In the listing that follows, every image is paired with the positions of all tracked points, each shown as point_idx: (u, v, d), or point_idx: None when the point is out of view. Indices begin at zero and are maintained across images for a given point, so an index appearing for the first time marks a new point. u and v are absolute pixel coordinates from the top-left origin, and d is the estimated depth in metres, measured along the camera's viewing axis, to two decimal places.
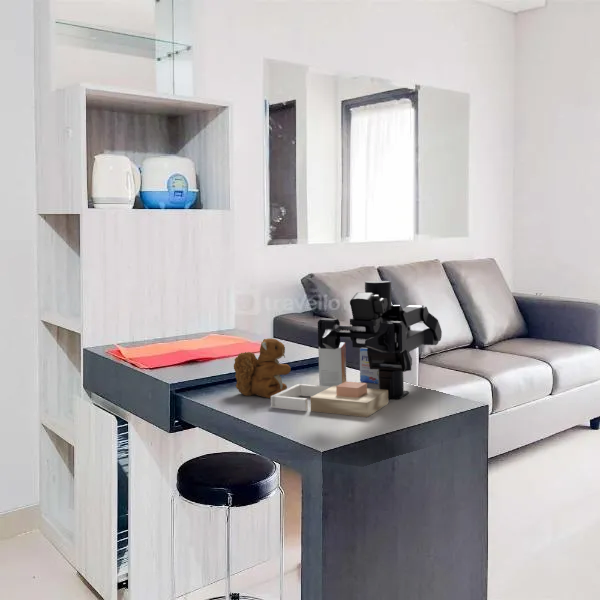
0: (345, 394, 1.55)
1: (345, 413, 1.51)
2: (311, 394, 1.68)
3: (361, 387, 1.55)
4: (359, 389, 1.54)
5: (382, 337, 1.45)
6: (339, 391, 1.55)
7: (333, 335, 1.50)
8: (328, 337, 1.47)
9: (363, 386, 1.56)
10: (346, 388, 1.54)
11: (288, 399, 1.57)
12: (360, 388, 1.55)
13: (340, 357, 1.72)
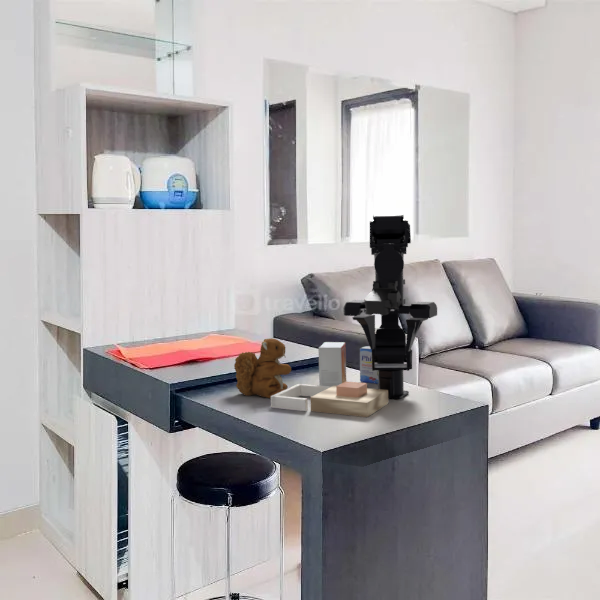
0: (345, 394, 1.55)
1: (345, 413, 1.51)
2: (311, 394, 1.68)
3: (361, 387, 1.55)
4: (359, 389, 1.54)
5: None
6: (339, 391, 1.55)
7: (370, 321, 1.53)
8: (372, 337, 1.53)
9: (363, 386, 1.56)
10: (346, 388, 1.54)
11: (288, 399, 1.57)
12: (360, 388, 1.55)
13: (340, 357, 1.72)
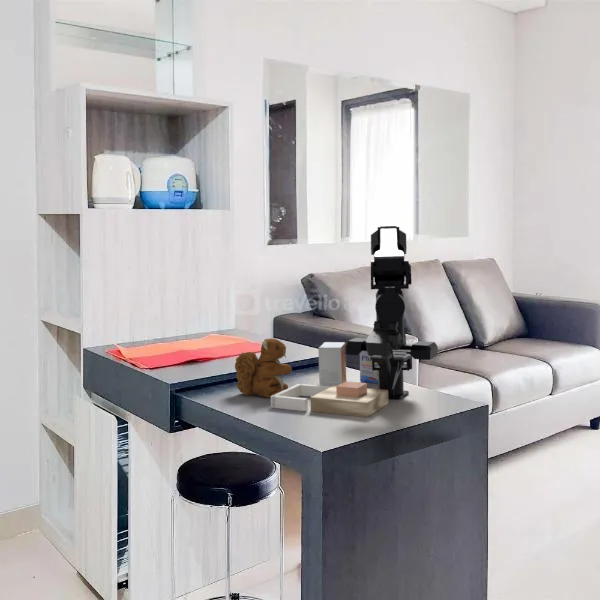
0: (345, 394, 1.55)
1: (345, 413, 1.51)
2: (311, 394, 1.68)
3: (361, 387, 1.55)
4: (359, 389, 1.54)
5: None
6: (339, 391, 1.55)
7: (387, 361, 1.52)
8: None
9: (363, 386, 1.56)
10: (346, 388, 1.54)
11: (288, 399, 1.57)
12: (360, 388, 1.55)
13: (340, 357, 1.72)
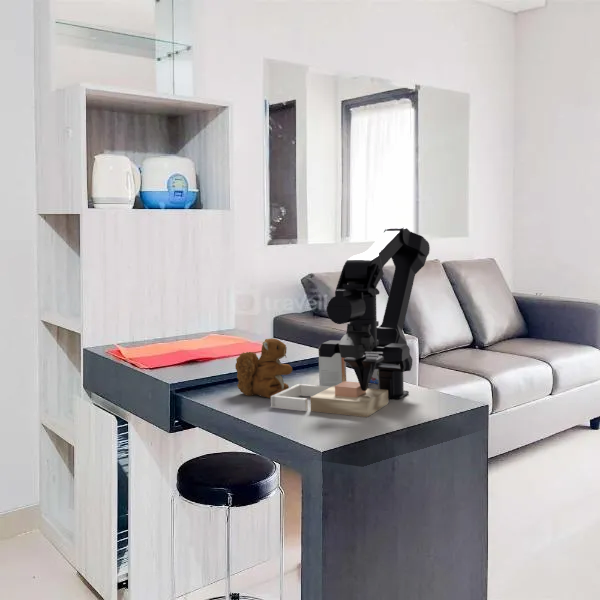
0: (344, 394, 1.55)
1: (345, 413, 1.51)
2: (311, 394, 1.68)
3: (360, 387, 1.55)
4: (358, 389, 1.54)
5: None
6: (338, 391, 1.55)
7: (361, 363, 1.55)
8: None
9: None
10: (345, 388, 1.55)
11: (288, 399, 1.57)
12: (359, 388, 1.55)
13: (340, 357, 1.72)
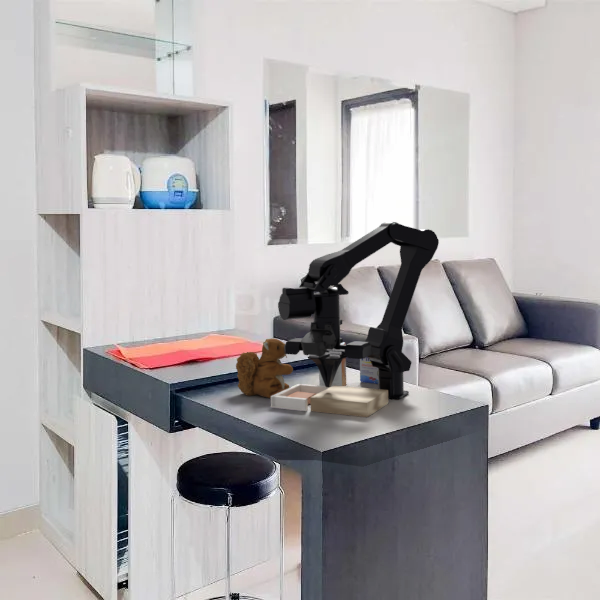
0: None
1: (345, 413, 1.51)
2: None
3: None
4: None
5: None
6: None
7: (325, 360, 1.59)
8: None
9: None
10: None
11: (288, 399, 1.57)
12: None
13: None
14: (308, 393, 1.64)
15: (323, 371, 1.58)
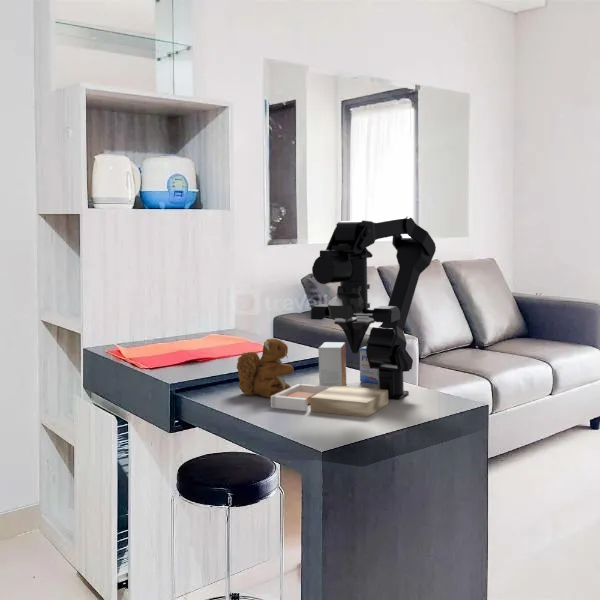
0: None
1: (345, 413, 1.51)
2: None
3: None
4: None
5: None
6: None
7: (351, 326, 1.55)
8: (353, 341, 1.55)
9: None
10: None
11: (288, 399, 1.57)
12: None
13: (340, 357, 1.72)
14: (308, 393, 1.64)
15: (350, 336, 1.54)
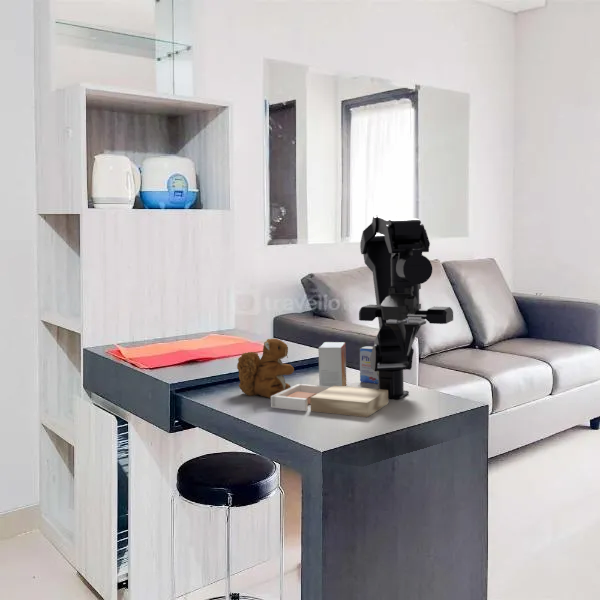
0: None
1: (345, 413, 1.51)
2: None
3: None
4: None
5: None
6: None
7: (402, 327, 1.51)
8: (404, 343, 1.51)
9: None
10: None
11: (288, 399, 1.57)
12: None
13: (340, 357, 1.72)
14: (308, 393, 1.64)
15: (401, 338, 1.50)
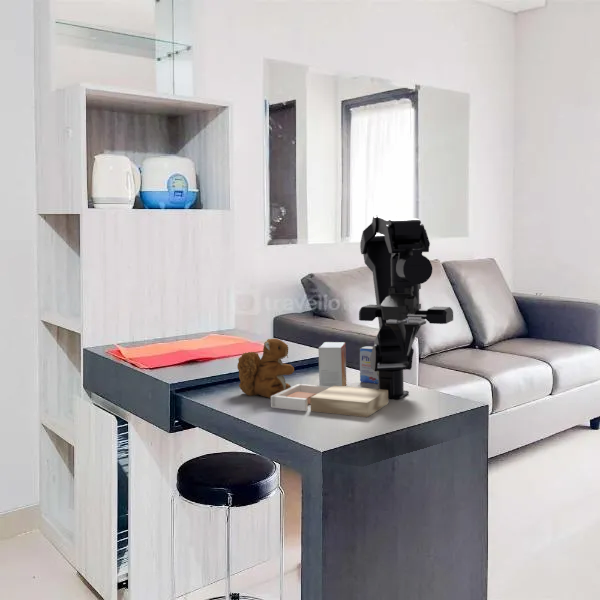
0: None
1: (345, 413, 1.51)
2: None
3: None
4: None
5: None
6: None
7: (402, 327, 1.51)
8: (404, 343, 1.51)
9: None
10: None
11: (288, 399, 1.57)
12: None
13: (340, 357, 1.72)
14: (308, 393, 1.64)
15: (401, 338, 1.50)
